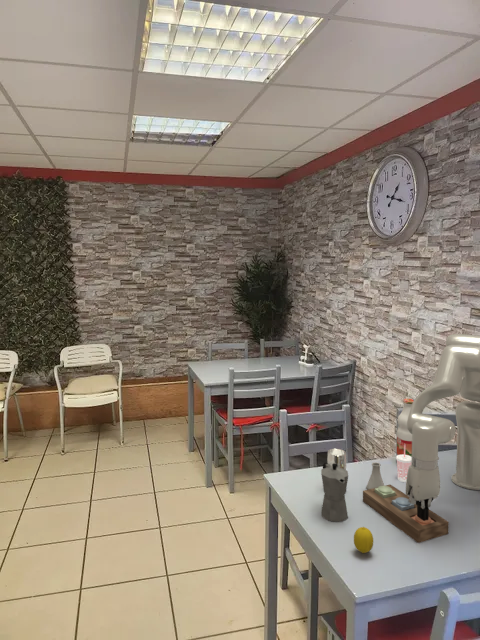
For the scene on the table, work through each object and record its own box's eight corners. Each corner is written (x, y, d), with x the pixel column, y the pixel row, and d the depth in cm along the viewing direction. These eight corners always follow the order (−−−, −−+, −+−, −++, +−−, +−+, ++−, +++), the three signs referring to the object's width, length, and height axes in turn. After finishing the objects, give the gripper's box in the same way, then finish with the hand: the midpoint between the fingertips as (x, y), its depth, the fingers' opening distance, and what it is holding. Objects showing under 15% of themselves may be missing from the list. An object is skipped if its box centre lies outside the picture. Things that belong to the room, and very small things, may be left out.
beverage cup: (413, 478, 179) (414, 444, 178) (410, 484, 174) (411, 449, 173) (397, 474, 183) (398, 441, 181) (393, 480, 177) (394, 446, 176)
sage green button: (385, 492, 163) (386, 484, 163) (395, 499, 159) (395, 490, 158) (374, 495, 161) (374, 487, 161) (383, 501, 157) (383, 493, 156)
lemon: (351, 548, 136) (351, 522, 135) (369, 546, 136) (369, 521, 135) (357, 559, 130) (357, 533, 129) (376, 558, 131) (376, 532, 130)
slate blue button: (403, 504, 155) (403, 495, 155) (414, 511, 150) (414, 502, 150) (391, 507, 153) (391, 498, 153) (402, 514, 149) (402, 505, 148)
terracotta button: (423, 521, 147) (423, 512, 146) (434, 529, 142) (435, 520, 142) (410, 524, 145) (410, 515, 145) (422, 533, 140) (422, 523, 140)
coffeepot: (356, 523, 148) (356, 470, 146) (329, 527, 146) (329, 474, 144) (336, 500, 163) (336, 452, 161) (311, 503, 161) (311, 455, 159)
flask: (386, 494, 167) (387, 468, 166) (366, 493, 168) (366, 467, 167) (384, 485, 174) (385, 460, 173) (365, 484, 175) (365, 459, 174)
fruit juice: (424, 468, 188) (426, 402, 185) (403, 470, 186) (405, 403, 183) (412, 459, 197) (414, 396, 194) (392, 461, 195) (393, 397, 192)
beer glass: (325, 493, 169) (325, 454, 167) (329, 484, 175) (329, 447, 173) (344, 496, 166) (344, 457, 164) (347, 487, 172) (347, 449, 171)
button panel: (389, 494, 167) (390, 484, 166) (448, 534, 142) (448, 521, 141) (362, 501, 162) (362, 490, 162) (418, 543, 137) (418, 530, 137)
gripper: (433, 453, 147) (432, 507, 149) (396, 461, 142) (395, 517, 144) (452, 462, 140) (450, 519, 142) (414, 471, 135) (412, 529, 137)
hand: (422, 518), depth 143 cm, fingers closed
